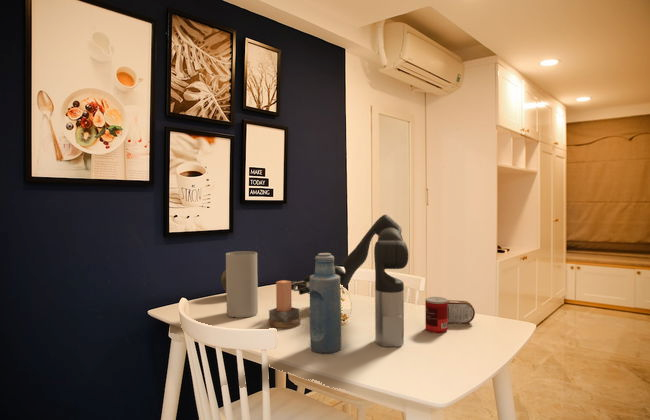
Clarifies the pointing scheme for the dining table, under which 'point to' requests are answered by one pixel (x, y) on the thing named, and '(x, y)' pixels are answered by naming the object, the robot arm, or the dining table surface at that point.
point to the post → (283, 296)
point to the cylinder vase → (241, 284)
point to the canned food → (436, 314)
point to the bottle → (325, 306)
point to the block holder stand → (284, 318)
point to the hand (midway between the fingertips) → (291, 290)
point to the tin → (460, 312)
